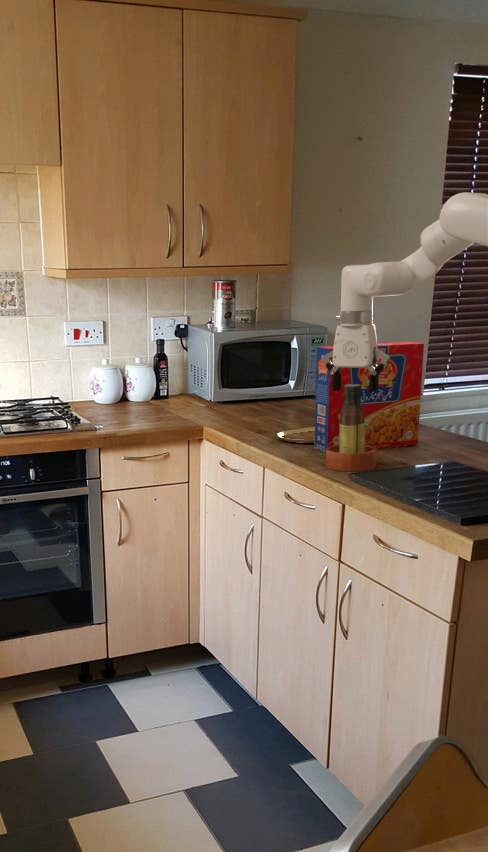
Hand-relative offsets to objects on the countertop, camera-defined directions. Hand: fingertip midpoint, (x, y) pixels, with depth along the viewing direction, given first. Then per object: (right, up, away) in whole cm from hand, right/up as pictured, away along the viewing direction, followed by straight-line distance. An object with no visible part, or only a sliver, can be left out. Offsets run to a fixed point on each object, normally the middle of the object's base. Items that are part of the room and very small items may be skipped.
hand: (354, 390), depth 216 cm
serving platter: (+3, -4, +49) cm, 49 cm away
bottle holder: (0, -18, +6) cm, 19 cm away
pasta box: (+10, -10, +30) cm, 33 cm away
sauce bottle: (0, -18, +6) cm, 19 cm away
